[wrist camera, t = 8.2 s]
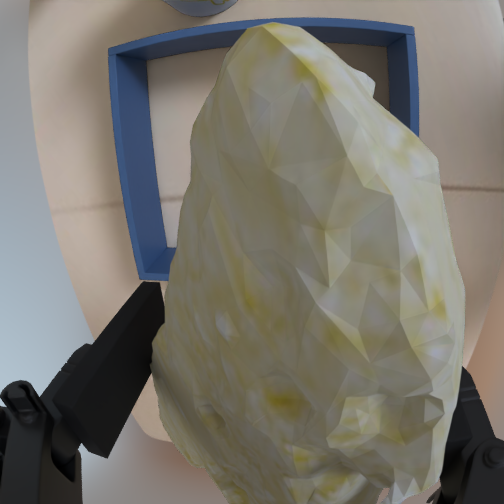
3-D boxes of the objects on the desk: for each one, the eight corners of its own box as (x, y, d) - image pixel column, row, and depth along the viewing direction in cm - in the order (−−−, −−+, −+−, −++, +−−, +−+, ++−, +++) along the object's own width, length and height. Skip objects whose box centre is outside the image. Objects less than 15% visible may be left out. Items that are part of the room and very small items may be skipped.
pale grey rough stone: (291, 430, 19) (508, 497, 6) (198, 487, 15) (399, 639, 2) (212, 207, 18) (476, 72, 5) (87, 244, 14) (222, -51, 2)
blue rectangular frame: (393, 40, 22) (414, 26, 17) (388, 256, 32) (402, 285, 26) (139, 55, 26) (107, 48, 21) (162, 253, 36) (139, 279, 30)
